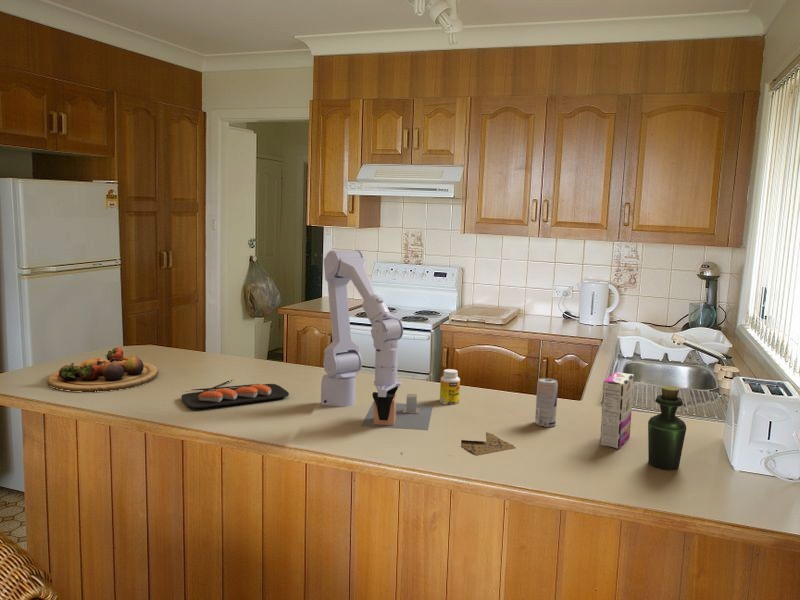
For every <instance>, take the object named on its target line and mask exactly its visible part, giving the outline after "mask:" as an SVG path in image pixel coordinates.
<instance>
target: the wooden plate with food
mask: <svg viewBox="0 0 800 600" xmlns="http://www.w3.org/2000/svg"><path fill="white" fill-rule="evenodd" d="M104 356H106V357H105V358H101V357H100V358H99V357H91V358H90V357H89V358H88V359H85V360H84V361H82V362H81V363H79V364H75V362H71V364H69V365H68V364H65V365H63V366H62V367H61V368H60V369H59V370H57V371H54V372H53V373H51V374H50V375H49V377H48V378H47V384H48V386H49V385H50V386H52V387H55V388H58V389H63V390H70V391H82V392H92V393H98V392H97V391H108V392H111V391H110V390H117V391H120V390H119V389H123V390H127V389H126V388H129V389H132V388H131V387H133V388H136V387H135V386H137V387H140V386H139V385H141V386H143V385H142V384H144V385H146V384H148V383H151V382H152V381H153V380H155V379H156V378H157V377H158V375H159V369H158V367H157V366H155V365H154V364H152V363H149V362H144V361H143V360H142V359H141V358H140V357H139V356H137V355H135V354H133V355H131V356H128V355H127V356H124V351H123V349H122V348H121V347H119V346H118V347H113V348H112V350H108V351H107V354H105V355H104ZM145 383H146V384H145ZM50 386H49V387H50ZM52 387H51V388H52ZM95 391H96V392H95Z"/></svg>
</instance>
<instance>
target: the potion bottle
mask: <svg viewBox="0 0 800 600" xmlns="http://www.w3.org/2000/svg"><path fill="white" fill-rule="evenodd" d="M660 388H661V394H659V395H657V396H656V398H655V400H654V401H655V403H656V404H659V407H660V413H658V414H656V415H653V416H651V417H650V418H649V419H648V422H647V428H648V429H647V432H648V433H647V434H648V435H647V446H648V450H647V451H648V452H647V454H648V455H647V456H648V463H649V465H651V466H652V467H654V468H656V469H659V470H666V471H672V470H676V469H678V468H680V462H681V458H682V453H683V448H684V442H685V436H686V432H687V425H686V422H685V421H684V420H682V418H680V417H678V416H677V415H676V413H677V410H678V407H682V406H684V402H683V399H682V398H681V397H679V396H678V395H679V392H680V387H677V386H674V385H661V387H660Z"/></svg>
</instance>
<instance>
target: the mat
mask: <svg viewBox="0 0 800 600" xmlns="http://www.w3.org/2000/svg"><path fill="white" fill-rule="evenodd" d="M404 407H406V403H400V402H399V403H397V402H396V420H395V423H394V425H379V424H374V401H372V403H371V406H370V407H369V409H368V412H367V414H366V415H365V418H364V420H363V422H362V423H361V425H360V426H361V427H367V428H368V427H371V428H386V429H403V430H419V431H429V427H430V426H429V425H430V421H431V416H432V412H433V407H434V405H432V404H431V405H430V404H417V408H420V411H419V414H407V413H403V410H404Z"/></svg>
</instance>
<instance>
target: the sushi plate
mask: <svg viewBox="0 0 800 600" xmlns="http://www.w3.org/2000/svg"><path fill="white" fill-rule="evenodd" d="M227 382H229V380H227V381H225V382H222V383H220V384H218V385H215V386H212V387H207V388H205V387H204V388H194V389H192V390H204V391H193V392H188V393H187V392H186V393H184V394H182V395H181V396H180V397H181V400H182V401H183V403H184V404H185V405H186V406H188V407H189V408H191V409H204V408H205V409H207V408H214V407H215V406H216V407H224V406H230V405H238V403H239V404H246V402H247V403H253V402H262V401H267V400H268V401H270V400H274V399H280V398H287V397H288V396H290V392H288V391H287V390H286V389H285V388H284V387H282V386H281V385H278V384H276V383H265V384H260V383H252V384H241V385H231V386H225V385H227V384H228V383H227ZM226 383H227V384H226ZM229 383H230V382H229ZM212 389H213V390H212ZM261 400H262V401H261ZM223 405H224V406H223Z"/></svg>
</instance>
